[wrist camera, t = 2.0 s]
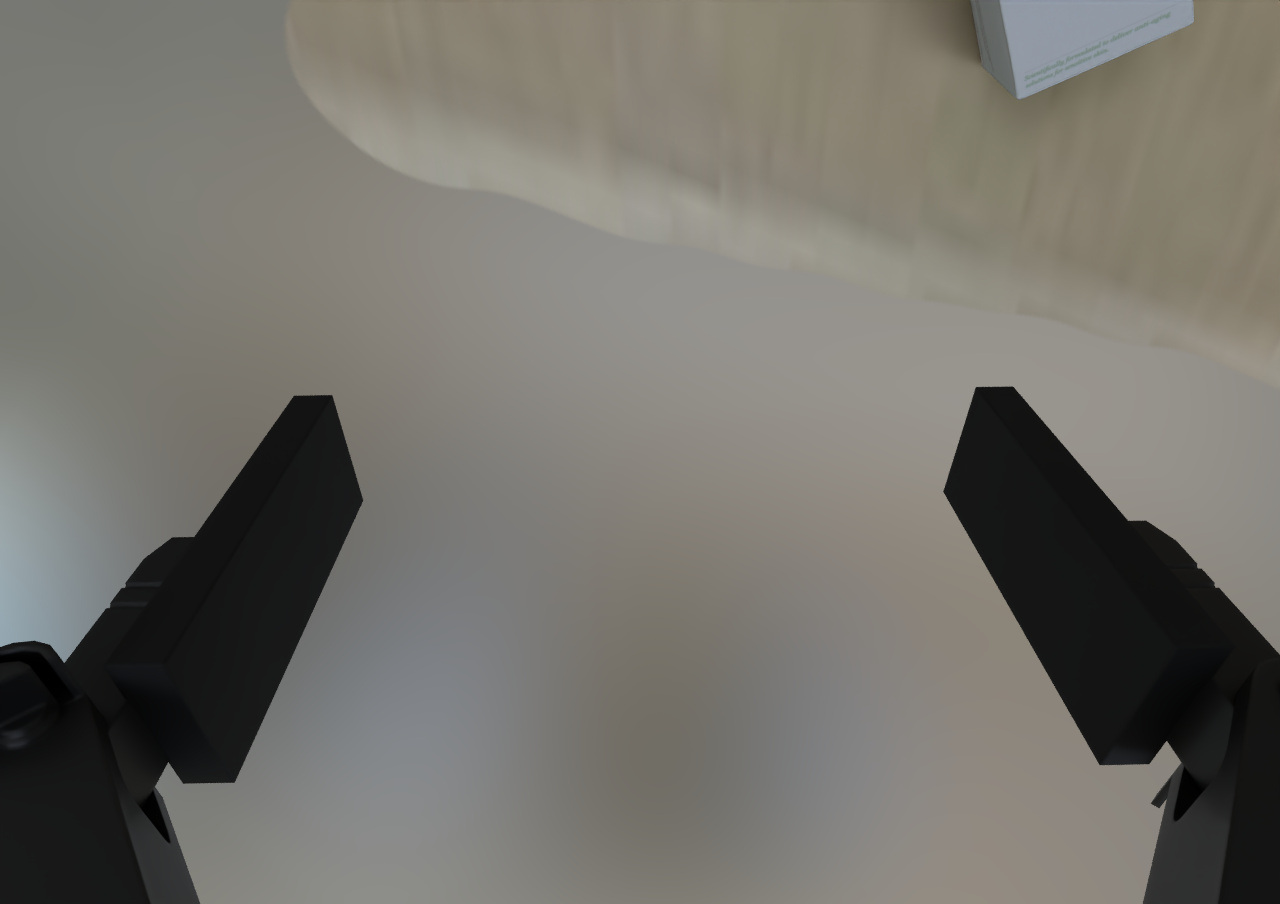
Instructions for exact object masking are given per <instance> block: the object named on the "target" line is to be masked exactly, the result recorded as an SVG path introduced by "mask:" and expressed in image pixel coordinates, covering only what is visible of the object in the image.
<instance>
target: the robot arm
mask: <svg viewBox="0 0 1280 904" xmlns="http://www.w3.org/2000/svg"><path fill="white" fill-rule="evenodd" d="M943 492H944V494H945V495H946V497H947V499H948V501H949V502H950V504H951V506H952V508H953V509H954V511H955V513H956V514H957V516H958V518H959V520H960V522H961V523H962V525H963V527H964V529H965V530H966V532H967V534H968V536H969V537H970V539H971V541H972V543H973V544H974V546H975V548H976V550H977V551H978V553H979V555H980V557H981V558H982V560H983V562H984V563H985V565H986V567H987V569H988V570H989V572H990V574H991V576H992V577H993V579H994V581H995V583H996V584H997V586H998V588H999V590H1000V591H1001V593H1002V595H1003V597H1004V599H1005V600H1006V602H1007V604H1008V606H1009V607H1010V609H1011V611H1012V612H1013V614H1014V616H1015V618H1016V620H1017V621H1018V623H1019V625H1020V627H1021V628H1022V630H1023V632H1024V634H1025V635H1026V637H1027V639H1028V640H1029V642H1030V644H1031V646H1032V648H1033V649H1034V651H1035V653H1036V655H1037V656H1038V658H1039V660H1040V661H1041V663H1042V665H1043V667H1044V669H1045V670H1046V672H1047V674H1048V675H1049V677H1050V679H1051V681H1052V683H1053V684H1054V686H1055V688H1056V690H1057V691H1058V693H1059V695H1060V697H1061V698H1062V700H1063V702H1064V704H1065V705H1066V707H1067V709H1068V711H1069V712H1070V714H1071V716H1072V717H1073V719H1074V721H1075V723H1076V724H1077V726H1078V728H1079V730H1080V732H1081V733H1082V735H1083V737H1084V738H1085V740H1086V742H1087V744H1088V745H1089V747H1090V749H1091V751H1092V752H1093V754H1094V756H1095V758H1096V759H1097V761H1098V763H1099V765H1125V764H1126V765H1127V764H1150V762H1151V761H1152V760H1153V758H1154V757H1155V756H1156V754H1157V753H1158V752H1159V750H1160V749H1161V747H1162V746H1163V745H1164V743H1165V742H1166V741H1168V743H1169V744H1170V746H1171V747H1172V749H1173V750H1174V752H1175V753H1176V755H1177V756H1178V758H1179V759H1180V761H1181V762H1182V763H1181V764H1180V765H1179V766H1178V768H1177V769H1176V770H1175V772H1174V773H1173V774H1172V775H1171V777H1170V778H1169V779H1168V781H1167V782H1166V783H1165V785H1164V786H1163V787H1162V788H1161V790H1160V791H1159V792H1158V793H1157V795H1156V797H1155V798H1154V800H1153V801H1152V803H1151V804H1153V805H1154V806H1156V807H1158V808H1160V806H1161V805H1162V804H1163V803H1164V801H1165V800H1166V799H1167V801H1166V805H1165V809H1164V814H1163V818H1162V822H1161V827H1160V832H1159V836H1158V840H1157V844H1156V849H1155V853H1154V857H1153V862H1152V866H1151V871H1150V875H1149V879H1148V884H1147V888H1146V892H1145V897H1144V901H1143V904H1280V655H1279V653H1278V652H1277V651H1276V650H1275V649H1274V648H1273V647H1272V646H1271V645H1270V643H1269V642H1268V641H1267V640H1266V639H1265V638H1264V637H1263V636H1262V635H1261V634H1260V632H1258V630H1257V629H1256V628H1255V627H1254V626H1253V625H1252V624H1251V623H1250V621H1249V620H1248V619H1247V618H1246V617H1245V616H1244V615H1243V614H1242V613H1241V612H1240V610H1239V609H1238V608H1237V607H1236V606H1235V605H1234V604H1233V603H1232V602H1231V601H1230V599H1229V598H1228V597H1227V596H1226V595H1225V594H1224V593H1223V592H1222V591H1221V589H1220V588H1215V586H1214V582H1213V581H1212V580H1211V578H1210V577H1209V576H1208V575H1207V574H1206V573H1205V572H1204V571H1203V570H1202V569H1198V568H1197V563H1196V562H1195V561H1194V560H1193V559H1192V558H1191V556H1189V554H1188V553H1187V552H1186V551H1185V550H1184V549H1183V548H1182V547H1181V545H1180V544H1179V543H1178V542H1177V541H1176V540H1174V539H1173V538H1171V537H1170V536H1168V535H1167V534H1165V533H1164V532H1162V531H1161V530H1159V529H1158V528H1156V527H1155V526H1153V525H1152V524H1150V523H1149V522H1147V521H1128V520H1127V519H1126V518H1125V517H1124V516H1123V514H1122V513H1121V512H1120V511H1119V510H1118V509H1117V507H1116V506H1115V505H1114V504H1113V503H1112V501H1111V500H1110V499H1109V498H1108V497H1107V496H1106V495H1105V493H1104V492H1103V491H1102V490H1101V489H1100V488H1099V486H1098V485H1097V484H1096V483H1095V482H1094V480H1093V479H1092V478H1091V477H1090V476H1089V475H1088V473H1087V472H1086V471H1085V470H1084V469H1083V468H1082V466H1081V465H1080V464H1079V463H1078V462H1077V461H1076V459H1075V458H1074V457H1073V456H1072V455H1071V454H1070V452H1069V451H1068V450H1067V449H1066V448H1065V447H1064V445H1063V444H1062V443H1061V442H1060V441H1059V440H1058V438H1057V437H1056V436H1055V435H1054V434H1053V433H1052V432H1051V430H1050V429H1049V428H1048V427H1047V426H1046V424H1044V422H1043V421H1042V420H1041V419H1040V418H1039V416H1038V415H1037V414H1036V413H1035V412H1034V410H1033V409H1032V408H1031V407H1030V406H1029V405H1028V403H1027V402H1026V401H1025V400H1024V399H1023V398H1022V396H1021V395H1020V394H1019V393H1018V392H1017V391H1016V389H1015V388H1014V387H976V389H975V392H974V395H973V398H972V402H971V405H970V408H969V411H968V414H967V418H966V421H965V424H964V427H963V431H962V434H961V437H960V440H959V443H958V447H957V450H956V453H955V456H954V459H953V463H952V466H951V469H950V472H949V475H948V479H947V482H946V485H945V488H944V491H943ZM362 502H363V498H362V495H361V491H360V488H359V484H358V482H357V478H356V474H355V471H354V467H353V465H352V461H351V457H350V454H349V451H348V447H347V444H346V440H345V437H344V434H343V430H342V427H341V423H340V420H339V417H338V413H337V410H336V406H335V403H334V400H333V396H332V395H317V396H316V395H315V396H294V397H293V398H292V400H291V401H290V402H289V404H288V405H287V407H286V408H285V410H284V411H283V412H282V414H281V415H280V417H279V418H278V420H277V421H276V422H275V424H274V425H273V427H272V428H271V429H270V431H269V432H268V434H267V435H266V436H265V438H264V439H263V441H262V442H261V443H260V445H259V446H258V448H257V449H256V451H255V452H254V453H253V455H252V456H251V458H250V459H249V461H248V462H247V463H246V465H245V466H244V468H243V469H242V470H241V472H240V473H239V475H238V476H237V477H236V479H235V480H234V482H233V483H232V484H231V486H230V487H229V489H228V490H227V492H226V493H225V494H224V496H223V497H222V499H221V500H220V501H219V503H218V504H217V506H216V507H215V508H214V510H213V512H212V513H211V514H210V516H209V517H208V518H207V520H206V521H205V523H204V524H203V526H202V527H201V528H200V530H199V531H198V533H197V534H196V535H195V537H176V538H175V537H173V538H171V539H170V540H168V541H167V542H166V543H164V544H163V545H162V546H161V547H159V548H158V549H156V550H155V551H154V552H152V553H151V554H150V555H148V556H147V557H146V558H145V559H144V560H143V561H142V562H141V563H140V565H139V566H138V567H137V569H136V570H135V571H134V573H133V574H132V575H131V577H130V578H129V579H128V580H127V582H126V587H125V588H122V589H121V590H120V591H119V592H118V594H117V595H116V596H115V598H114V599H113V600H112V602H111V603H110V604H111V605H110V608H107V609H105V611H104V612H103V613H102V615H101V616H100V617H99V619H98V620H97V621H96V622H95V624H94V625H93V626H92V628H91V629H90V631H89V632H88V633H87V634H86V636H85V637H84V638H83V639H82V641H81V642H80V644H79V645H78V646H77V647H76V649H75V650H74V652H73V653H72V654H71V655H70V657H69V658H68V659H67V661H66V662H65V663H64V662H63V661H62V660H61V659H60V657H59V656H58V654H57V653H56V652H55V651H54V649H53V648H52V647H51V646H50V645H48V644H45V643H41V642H36V641H28V642H18V643H11V644H8V645H5V646H2V647H0V904H200V902H199V899H198V896H197V894H196V891H195V888H194V885H193V882H192V879H191V876H190V874H189V871H188V868H187V865H186V862H185V859H184V857H183V854H182V851H181V848H180V846H179V843H178V840H177V837H176V834H175V831H174V828H173V826H172V823H171V820H170V817H169V814H168V811H167V809H166V806H165V803H164V800H163V797H162V796H161V795H160V793H159V792H158V791H157V789H156V788H155V785H156V784H157V782H158V780H159V778H160V776H161V774H162V772H163V771H164V769H165V767H166V765H167V763H168V762H169V764H170V765H171V766H172V768H173V769H174V771H175V772H176V774H177V775H178V777H179V778H180V780H181V781H182V782H183V784H185V783H234V782H235V781H236V778H237V776H238V774H239V772H240V770H241V767H242V765H243V763H244V761H245V758H246V756H247V754H248V752H249V750H250V747H251V745H252V743H253V741H254V739H255V736H256V734H257V732H258V730H259V728H260V726H261V723H262V721H263V719H264V717H265V715H266V712H267V710H268V708H269V706H270V704H271V702H272V699H273V697H274V695H275V693H276V691H277V688H278V686H279V684H280V682H281V680H282V677H283V675H284V673H285V671H286V669H287V666H288V664H289V662H290V660H291V658H292V655H293V653H294V651H295V649H296V646H297V644H298V642H299V640H300V638H301V636H302V633H303V631H304V629H305V627H306V625H307V622H308V620H309V618H310V616H311V614H312V612H313V609H314V607H315V605H316V603H317V601H318V598H319V596H320V594H321V592H322V590H323V587H324V585H325V583H326V581H327V579H328V576H329V574H330V572H331V570H332V568H333V565H334V563H335V561H336V559H337V557H338V555H339V552H340V550H341V548H342V545H343V544H344V541H345V539H346V537H347V535H348V532H349V530H350V528H351V526H352V523H353V522H354V519H355V517H356V515H357V513H358V511H359V508H360V506H361V504H362Z"/></svg>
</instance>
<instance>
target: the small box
mask: <svg viewBox="0 0 1280 904" xmlns="http://www.w3.org/2000/svg"><path fill="white" fill-rule="evenodd" d="M970 2H971V7H972V13H973V18H974V23H975V29H976V34H977V39H978V44H979V50H980V55H981V61H982V66H983V68H984V69H985V70H986V71H987V72H989V73H990V74H991V75H992V76H993V77H994V78H995V79H996V80H997V81H998V82H999V83H1000V84H1001V85H1002V86H1003V87H1004V88H1005V89H1006V90H1007V91H1008V92H1010V93H1011V94H1012V95H1013V96H1014V97H1015V98H1016V99H1018V100H1020V99H1023V98H1025V97H1028V96H1030V95H1033V94H1035V93H1037V92H1040V91H1042V90H1044V89H1047V88H1049V87H1051V86H1053V85H1056V84H1058V83H1060V82H1063V81H1065V80H1067V79H1069V78H1072V77H1074V76H1076V75H1078V74H1081V73H1083V72H1085V71H1087V70H1090V69H1092V68H1094V67H1097V66H1099V65H1101V64H1103V63H1106V62H1108V61H1110V60H1112V59H1114V58H1117V57H1119V56H1121V55H1123V54H1126V53H1128V52H1130V51H1132V50H1134V49H1137V48H1139V47H1141V46H1143V45H1146V44H1148V43H1150V42H1152V41H1155V40H1157V39H1159V38H1161V37H1164V36H1166V35H1168V34H1170V33H1172V32H1175V31H1177V30H1179V29H1181V28H1184V27H1186V26H1189V25H1191V24H1192V23H1193V21H1194V13H1193V0H970Z"/></svg>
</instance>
